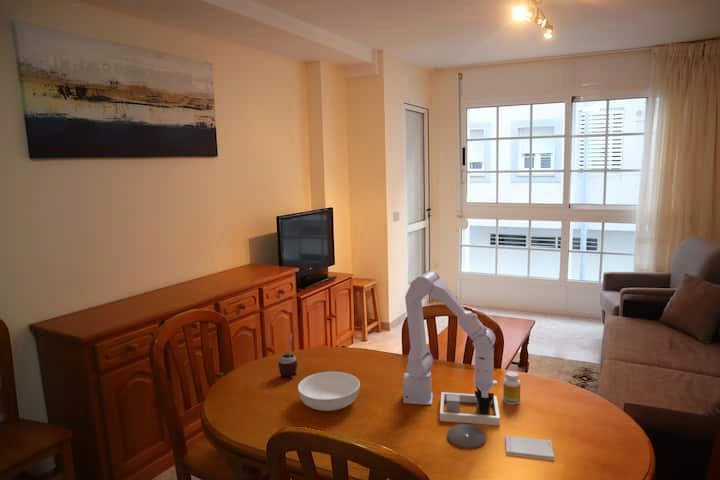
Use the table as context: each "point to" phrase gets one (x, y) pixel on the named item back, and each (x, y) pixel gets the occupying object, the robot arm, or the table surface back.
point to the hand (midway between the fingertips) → (483, 408)
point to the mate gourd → (288, 364)
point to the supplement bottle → (511, 388)
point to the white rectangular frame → (469, 417)
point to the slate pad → (466, 436)
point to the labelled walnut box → (479, 410)
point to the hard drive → (529, 447)
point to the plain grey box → (453, 403)
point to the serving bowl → (329, 390)
